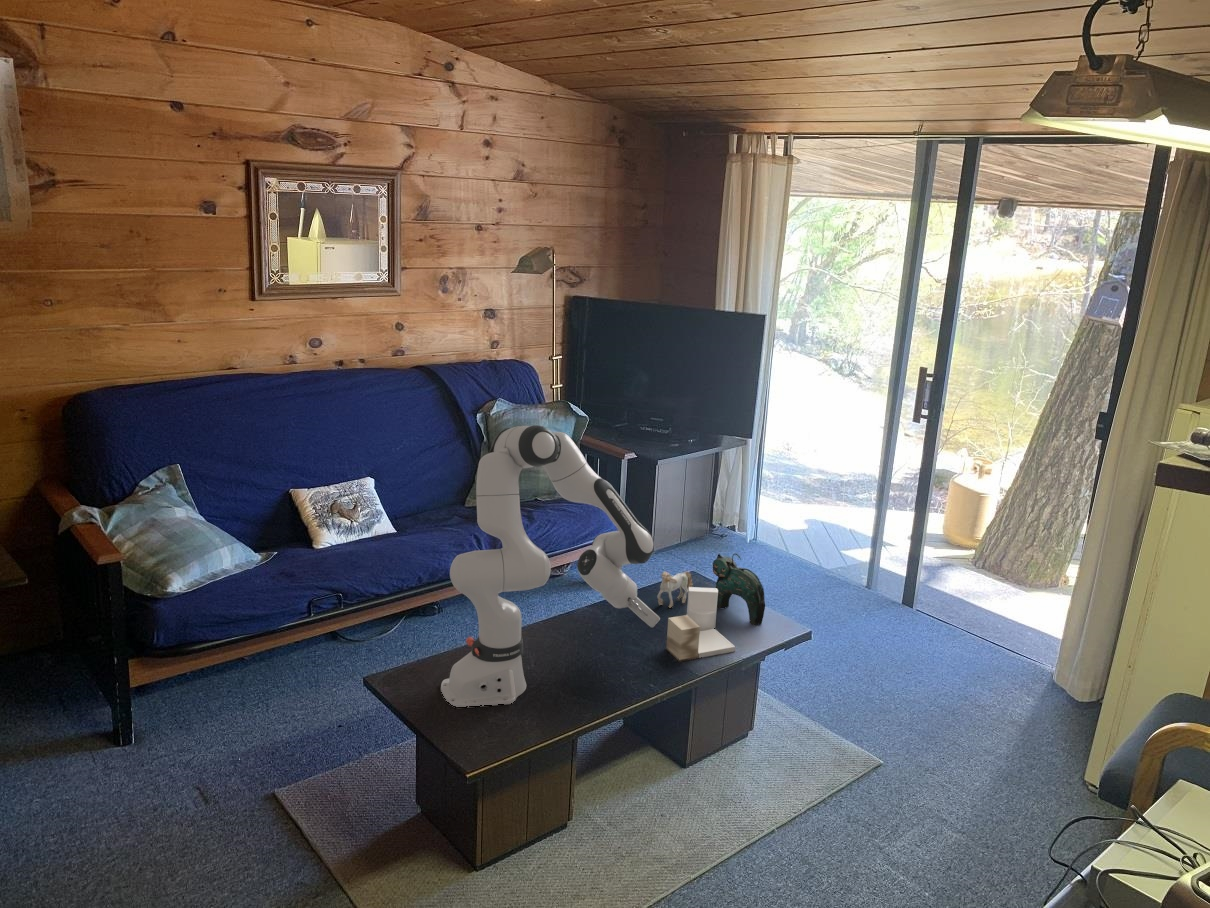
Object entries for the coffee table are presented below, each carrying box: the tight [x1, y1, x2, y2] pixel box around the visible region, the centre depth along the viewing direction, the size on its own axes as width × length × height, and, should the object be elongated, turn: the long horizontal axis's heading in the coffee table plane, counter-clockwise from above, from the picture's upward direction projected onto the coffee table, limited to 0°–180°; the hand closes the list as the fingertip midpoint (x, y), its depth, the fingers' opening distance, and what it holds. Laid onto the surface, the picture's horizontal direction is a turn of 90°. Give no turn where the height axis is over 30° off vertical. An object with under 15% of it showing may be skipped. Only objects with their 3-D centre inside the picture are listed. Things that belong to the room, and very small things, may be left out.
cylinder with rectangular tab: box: [686, 586, 718, 631], centre depth 293 cm, size 9×9×12 cm
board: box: [697, 628, 736, 659], centre depth 282 cm, size 12×12×2 cm
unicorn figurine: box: [656, 571, 694, 608], centre depth 305 cm, size 7×20×13 cm, turn 150°
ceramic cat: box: [712, 553, 766, 626], centre depth 301 cm, size 20×6×20 cm, turn 40°
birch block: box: [665, 614, 700, 662], centre depth 276 cm, size 6×8×10 cm
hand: (650, 617), depth 272 cm, fingers closed
